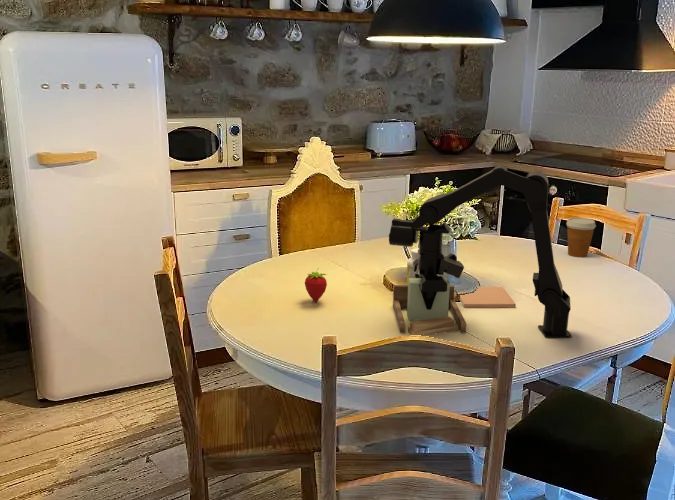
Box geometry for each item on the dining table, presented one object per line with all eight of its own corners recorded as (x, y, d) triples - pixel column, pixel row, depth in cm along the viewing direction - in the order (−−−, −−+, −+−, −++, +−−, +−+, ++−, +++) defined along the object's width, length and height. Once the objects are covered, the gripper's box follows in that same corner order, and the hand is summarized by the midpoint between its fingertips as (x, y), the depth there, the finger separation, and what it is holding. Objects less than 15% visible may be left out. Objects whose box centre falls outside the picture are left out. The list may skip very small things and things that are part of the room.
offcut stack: (457, 332, 166) (458, 321, 166) (413, 338, 163) (414, 326, 162) (451, 326, 170) (451, 315, 169) (407, 332, 166) (407, 321, 165)
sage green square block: (447, 320, 173) (449, 283, 170) (408, 320, 173) (410, 283, 170) (445, 314, 177) (447, 278, 174) (407, 314, 177) (408, 278, 174)
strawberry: (322, 296, 189) (322, 262, 186) (330, 305, 182) (330, 270, 180) (301, 298, 187) (301, 264, 185) (309, 307, 181) (309, 272, 178)
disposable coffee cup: (557, 251, 234) (560, 218, 230) (580, 249, 236) (584, 216, 233) (574, 259, 225) (578, 224, 222) (598, 257, 228) (602, 223, 224)
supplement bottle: (414, 287, 197) (416, 245, 193) (434, 293, 193) (436, 249, 189) (401, 293, 192) (403, 250, 188) (421, 299, 188) (423, 255, 184)
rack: (465, 332, 165) (467, 309, 164) (400, 332, 165) (400, 309, 163) (452, 305, 183) (453, 285, 181) (392, 305, 182) (393, 284, 181)
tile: (515, 307, 182) (515, 304, 182) (463, 307, 182) (464, 304, 182) (502, 290, 195) (502, 286, 195) (454, 289, 195) (454, 286, 195)
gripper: (470, 259, 161) (466, 320, 165) (455, 238, 179) (452, 293, 183) (423, 259, 161) (420, 320, 165) (413, 238, 179) (411, 293, 183)
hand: (427, 306), depth 174 cm, fingers closed on sage green square block, 4 cm apart
